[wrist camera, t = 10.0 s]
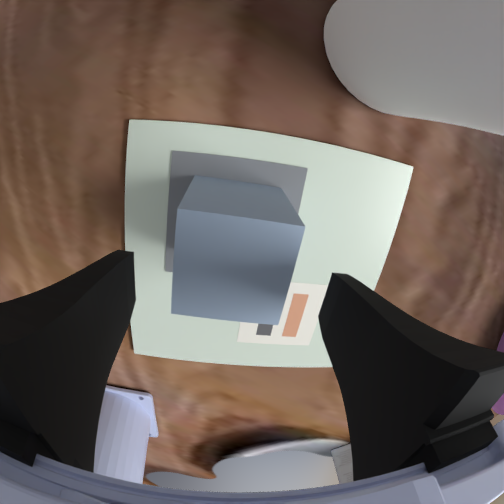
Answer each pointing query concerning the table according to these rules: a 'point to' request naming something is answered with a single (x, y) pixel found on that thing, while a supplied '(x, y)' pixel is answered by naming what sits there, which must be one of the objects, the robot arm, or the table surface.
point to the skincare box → (343, 463)
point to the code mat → (304, 202)
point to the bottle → (422, 58)
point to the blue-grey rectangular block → (234, 251)
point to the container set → (500, 406)
